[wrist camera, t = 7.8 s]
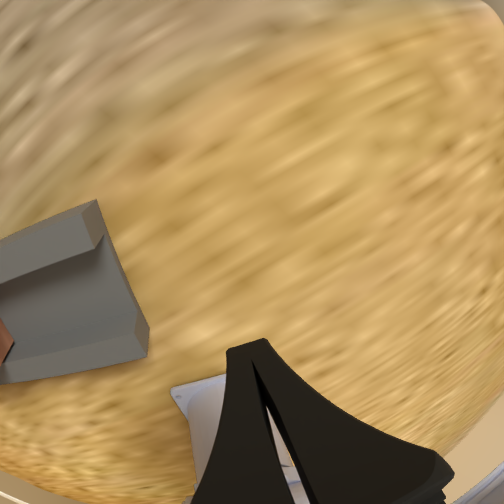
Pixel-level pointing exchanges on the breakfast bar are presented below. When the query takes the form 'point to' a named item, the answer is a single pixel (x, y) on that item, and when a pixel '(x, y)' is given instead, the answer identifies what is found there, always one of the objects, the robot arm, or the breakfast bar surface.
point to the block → (4, 341)
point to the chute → (66, 299)
